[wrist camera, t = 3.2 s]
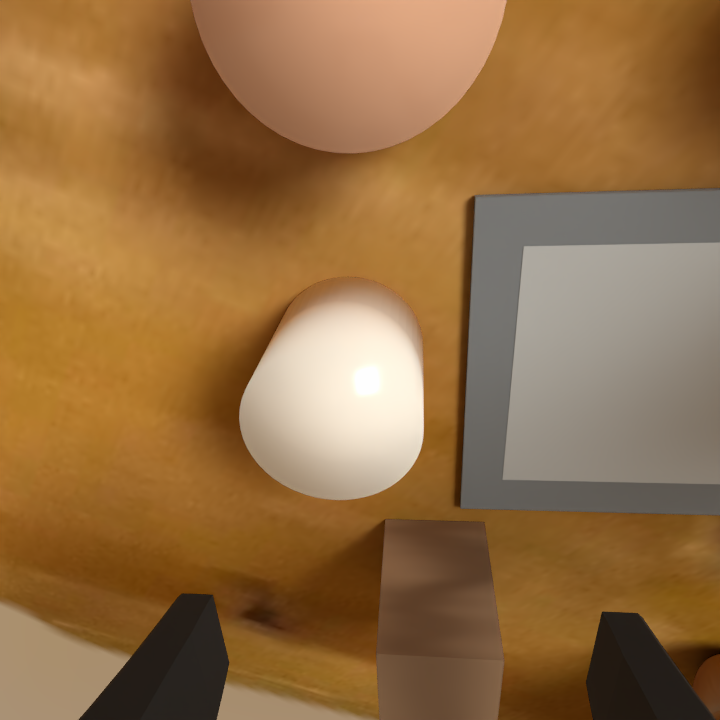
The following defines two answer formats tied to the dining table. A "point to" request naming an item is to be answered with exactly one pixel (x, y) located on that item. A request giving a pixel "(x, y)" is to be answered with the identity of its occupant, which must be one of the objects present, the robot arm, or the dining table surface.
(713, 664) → the cat ice cream
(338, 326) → the cream rounded capsule
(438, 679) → the walnut block
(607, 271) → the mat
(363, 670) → the dining table surface
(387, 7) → the peach rounded blob
